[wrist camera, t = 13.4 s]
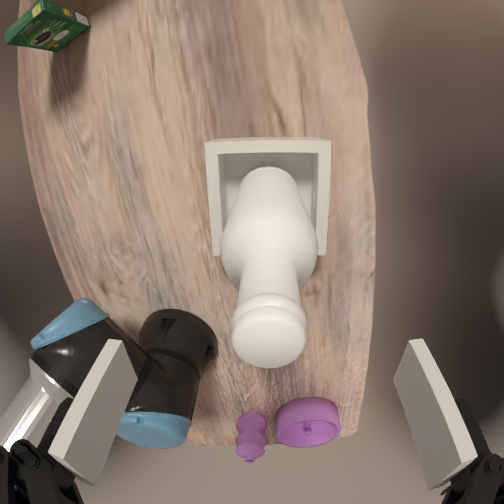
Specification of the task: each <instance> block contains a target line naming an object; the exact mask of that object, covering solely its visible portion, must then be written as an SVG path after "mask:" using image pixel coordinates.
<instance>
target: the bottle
mask: <svg viewBox="0 0 504 504" xmlns="http://www.w3.org/2000/svg"><path fill="white" fill-rule="evenodd" d="M318 249H319V245H318V241H317V237H316V233H315V230H314V227H313V225H312V222H311V220H310V217H309V215H308V212H307V210H306V208H305V205H304V203H303V200H302V198H301V196H300V193H299V191H298V188H297V185H296V182H295V180H294V179H293V178H292V177H291V175H290V174H289V173H288V172H287V171H286V170H284V169H283V168H281V167H279V166H275V165H271V164H268V165H260V166H258V167H256V168H254V169H252V170H251V171H250V172H249V173H248V174H247V175H246V176H245V177H244V178H243V180H242V182H241V185H240V187H239V190H238V195H237V197H236V200H235V202H234V205H233V208H232V210H231V213H230V215H229V218H228V221H227V223H226V226H225V229H224V231H223V234H222V237H221V239H220V259H221V262H222V265H223V267H224V270H225V272H226V274H227V277H228V279H229V280H230V282H231V283H232V284H233V285H234V286H235V287H236V289H237V290H238V291H239V294H238V300H237V307H236V310H235V312H234V314H233V316H232V319H231V333H232V347H233V349H234V351H235V353H236V355H237V356H238V357H239V358H241V359H242V360H243V361H244V362H246V363H248V364H251V365H253V366H255V367H261V368H278V367H281V366H284V365H287V364H290V363H291V362H293V361H294V360H296V359H297V358H298V357H299V356H300V355H301V354H302V352H303V351H304V349H305V345H306V331H307V320H306V317H305V313H304V311H303V310H302V306H301V300H300V293H299V290H300V289H301V288H303V287H304V286H305V285H306V283H307V281H308V279H309V278H310V276H311V274H312V272H313V270H314V268H315V266H316V263H317V256H318Z"/></svg>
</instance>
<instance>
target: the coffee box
mask: <svg viewBox="0 0 504 504" xmlns="http://www.w3.org/2000/svg"><path fill="white" fill-rule="evenodd" d="M88 28H90V24H89V21H88V18H87V17H86V16H83V15H81V14H79V13H77V12H74V11H72V10H70V9H67V8H65V7H63V6H60V5H58V4H55V3H53V2H50V1H48V0H39V1H38V2H37V3H36V4H35V5H34V6H32V7H31V8H30V9H29V10H28V11H27V12H26V13H25V14H24V15H22V16H21V17H20V18H19V19H18V20H17V21H16V22H15V23H14V24H13V25H12V26H11V27H10V28H9V29H8V30H7V31H6V33H5V37H6V44H7V45H16V46H23V47H30V48H37V49H43V50H48V51H53V52H57V51H58V50H59V49H61V48H62V47H64V46H65V45H66V44H67V43H68V42H70V41H71V40H73V39H74V38H75V37H77V36H78V35H80V34H81V33H83V32H84V31H85V30H87V29H88Z"/></svg>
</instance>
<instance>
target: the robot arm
mask: <svg viewBox="0 0 504 504" xmlns="http://www.w3.org/2000/svg"><path fill="white" fill-rule="evenodd" d="M31 345H32V348H33V349H34V350H35V349H36V351H35V353H34V354H33V355H32V357H31V358H30V359H29V364H30V372H31V373H30V377H29V379H28V380H27V381H26V383H25V384H24V385H23V387H22V389H21V390H20V391H19V392H18V394H17V395H16V397H15V398H14V400H13V401H12V403H11V404H10V406H9V407H8V408H7V410H6V411H5V413H4V415H3V416H2V418H1V419H0V504H84V503H83V500H82V498H81V496H80V493H79V490H78V488H77V485H76V484H75V482H74V478H75V477H77V478H78V479H79V480H80V481H82V482H84V483H87V484H89V485H92V486H95V487H97V484H98V481H99V478H100V476H101V473H102V470H103V467H104V464H105V461H106V459H107V456H108V453H109V450H110V448H111V445H112V442H113V440H114V437H115V435H116V434H117V435H118V436H120V437H121V438H123V439H125V440H127V441H129V442H132V443H135V444H138V445H141V446H145V447H150V448H157V449H168V448H174V447H177V446H179V445H181V444H182V443H183V442H184V441H185V440H186V437H187V433H188V430H189V427H190V426H191V421H192V416H193V411H194V406H195V401H196V397H197V392H198V387H199V383H200V379H201V377H202V376H203V375H204V373H205V372H206V371H207V369H208V368H209V367H210V365H211V364H212V362H213V361H214V359H215V355H216V351H217V339H216V336H215V334H214V332H213V330H212V329H211V328H210V327H209V325H208V324H207V323H205V322H204V321H203V320H202V319H200V318H199V317H197V316H195V315H193V314H191V313H189V312H186V311H182V310H177V309H163V310H159V311H156V312H154V313H152V314H151V315H150V316H148V318H147V319H146V320H145V322H144V324H143V326H142V328H141V331H140V340H139V345H138V344H137V343H136V342H135V341H133V340H132V339H131V338H130V337H129V336H128V335H127V334H126V333H125V332H124V331H123V330H122V329H121V328H120V327H119V326H118V325H117V324H116V323H115V322H114V321H113V320H112V319H111V318H110V317H109V315H108V314H107V313H105V312H104V311H102V310H101V309H100V308H99V307H98V306H97V305H96V304H95V303H94V302H93V301H92V300H90V299H88V298H80V299H78V300H77V301H75V302H74V303H73V304H72V305H71V306H69V307H68V308H67V309H66V310H65V311H63V312H62V313H61V314H60V315H59V316H58V317H57V318H55V319H54V320H53V321H52V322H51V323H50V324H49V325H47V326H46V327H45V328H44V329H43V330H42V331H41V332H40V333H39V334H37V335H36V336H35V337H34V338H33V339H32V340H31ZM393 381H394V383H395V386H396V389H397V392H398V394H399V397H400V400H401V403H402V406H403V408H404V411H405V414H406V417H407V420H408V423H409V426H410V430H411V433H412V436H413V439H414V442H415V446H416V449H417V452H418V456H419V459H420V463H421V466H422V470H423V473H424V477H425V481H426V484H427V489H428V491H429V490H432V489H435V488H438V487H440V486H443V485H444V484H446V483H447V482H448V481H451V485H450V486H449V487H447V488H446V489H445V490H443V492H442V493H441V495H443V494H445V493H446V492H447V493H446V495H445V498H444V500H443V502H442V504H504V458H501V457H500V456H498V455H497V454H492V453H491V452H490V450H489V448H488V446H487V443H486V441H485V438H484V436H483V434H482V431H481V429H480V427H479V425H478V424H477V420H476V418H475V417H474V414H473V412H472V409H471V407H470V406H469V404H468V403H467V402H466V401H465V400H464V399H463V398H459V399H456V400H454V399H453V397H452V394H451V392H450V390H449V388H448V386H447V384H446V382H445V380H444V378H443V376H442V374H441V372H440V370H439V368H438V366H437V365H436V363H435V361H434V359H433V357H432V355H431V353H430V351H429V349H428V348H427V346H426V344H425V342H424V340H423V339H415V340H409V341H408V344H407V347H406V349H405V352H404V354H403V357H402V359H401V362H400V364H399V367H398V370H397V372H396V374H395V376H394V379H393Z"/></svg>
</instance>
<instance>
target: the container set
mask: <svg viewBox="0 0 504 504" xmlns="http://www.w3.org/2000/svg"><path fill="white" fill-rule="evenodd" d="M266 428H267V422H266V420H265V418H264V417H263V416H261V415H260V414H258V413H255V412H248V413H245V414H244V415H242V416H241V417H240V418H239V419H238V421H237V429H238V431H239V433H240V434H238V435H237V437H236V440H235V442H236V445H237V447H236V453H237V454H238V455H239V456H241V457H243V458H245V462H248V463H253V462H254V459H256V458H259V457H261V456H262V455H263V454H264V452H265V450H264V446H265V445H266V438H265V437H264V435H263V434H264V432H265V431H266ZM340 430H341V429H340V422H339V416H338V411H337V406H336V404H335V403H334V402H332V401H331V400H329V399H325V398H321V397H305V398H300V399H296V400H292V401H290V402H288V403H286V404H284V405H283V406H281V407H280V408H279V410H278V411H277V414H276V438H277V440H278V441H279V442H280V443H282V444H284V445H287V446H291V447H299V448H301V447H313V446H318V445H322V444H324V443H327V442H329V441H331V440H333V439H334V438H335V437H337V436H338V434H339V433H340Z"/></svg>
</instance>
